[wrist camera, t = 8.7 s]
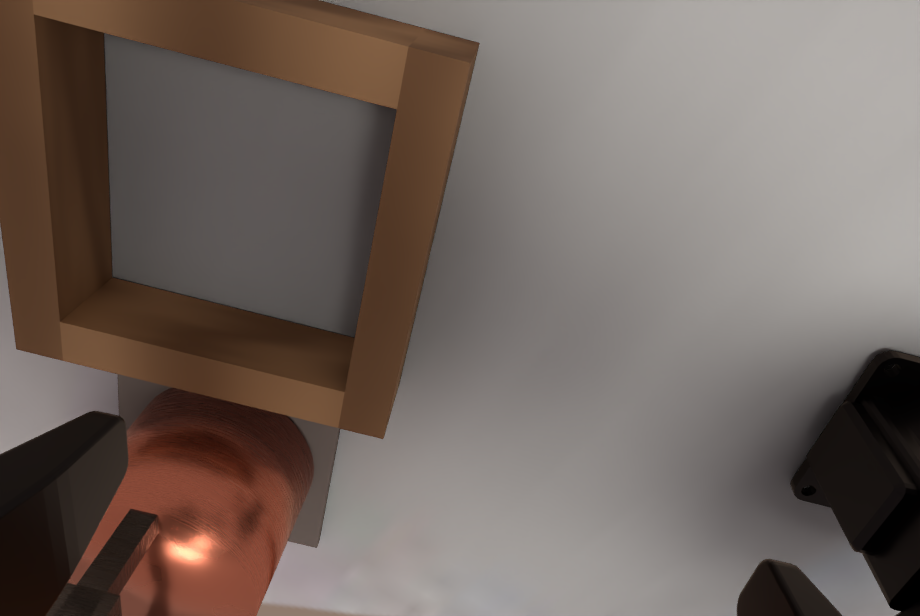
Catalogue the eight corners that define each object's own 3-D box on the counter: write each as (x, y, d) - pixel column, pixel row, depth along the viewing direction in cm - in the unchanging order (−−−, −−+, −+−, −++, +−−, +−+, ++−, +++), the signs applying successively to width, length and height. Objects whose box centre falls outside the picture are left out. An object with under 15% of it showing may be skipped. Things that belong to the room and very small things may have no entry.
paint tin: (322, 407, 25) (196, 678, 16) (305, 535, 28) (195, 813, 19) (135, 363, 25) (-95, 609, 16) (142, 496, 28) (-42, 757, 19)
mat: (347, 389, 25) (345, 396, 25) (319, 540, 29) (316, 547, 29) (122, 333, 25) (116, 339, 24) (127, 494, 29) (122, 501, 28)
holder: (479, 43, 18) (470, 63, 16) (399, 384, 25) (383, 439, 22) (45, -73, 18) (-38, -72, 15) (72, 302, 24) (16, 349, 22)
